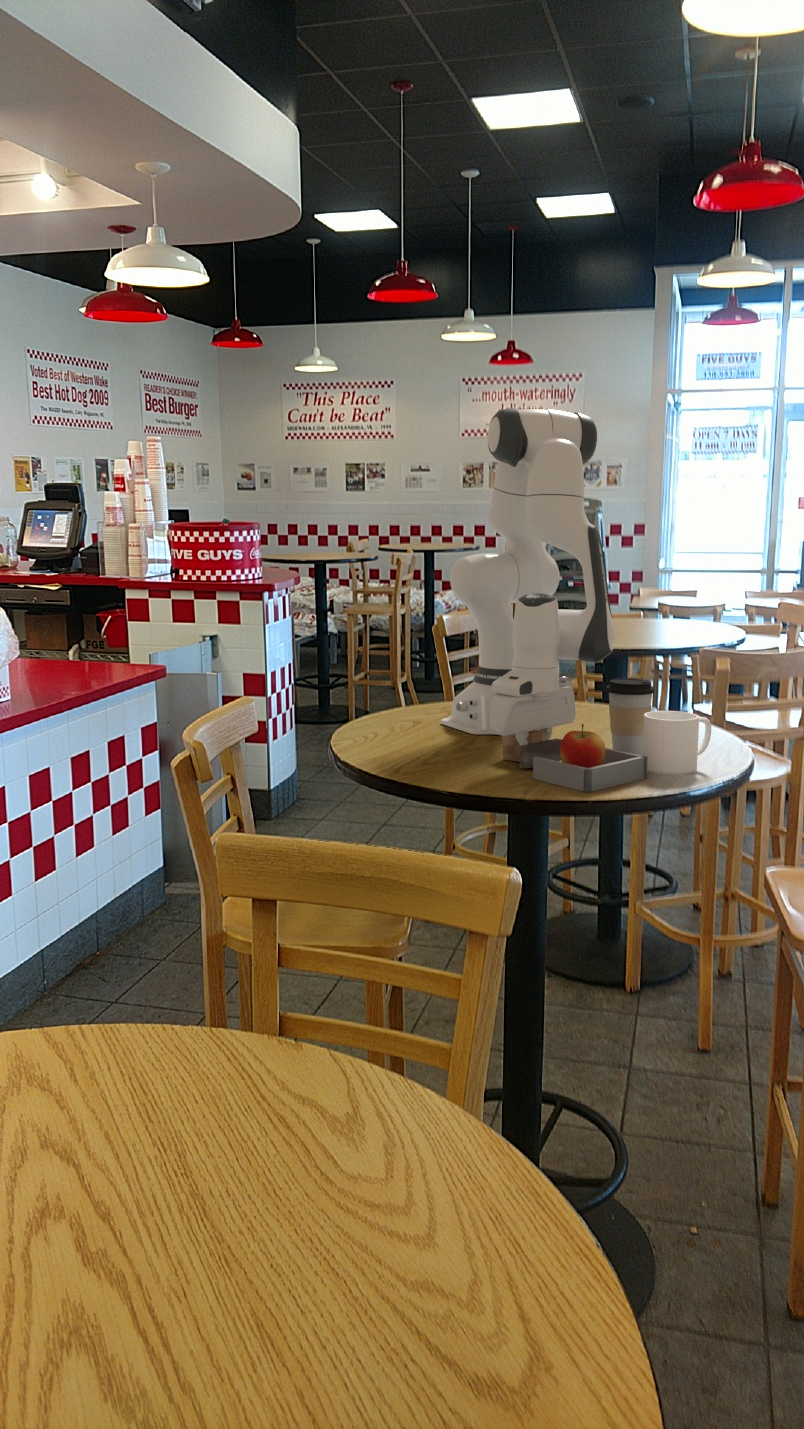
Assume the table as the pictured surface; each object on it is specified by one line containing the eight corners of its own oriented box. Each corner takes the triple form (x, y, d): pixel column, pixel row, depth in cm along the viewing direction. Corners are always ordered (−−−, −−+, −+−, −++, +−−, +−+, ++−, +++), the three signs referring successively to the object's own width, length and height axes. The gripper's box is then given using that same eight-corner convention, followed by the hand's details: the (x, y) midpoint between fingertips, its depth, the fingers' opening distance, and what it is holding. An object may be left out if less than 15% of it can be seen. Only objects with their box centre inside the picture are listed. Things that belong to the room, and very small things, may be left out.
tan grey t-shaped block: (489, 761, 206) (488, 731, 206) (525, 754, 213) (524, 724, 212) (527, 768, 199) (526, 736, 198) (563, 760, 205) (562, 729, 204)
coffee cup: (652, 762, 206) (655, 685, 203) (603, 760, 208) (605, 684, 205) (651, 751, 215) (654, 678, 212) (604, 749, 217) (606, 676, 214)
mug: (650, 776, 195) (652, 721, 193) (635, 763, 205) (637, 711, 203) (717, 775, 196) (720, 720, 194) (700, 762, 206) (702, 710, 204)
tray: (532, 778, 193) (533, 757, 193) (591, 765, 203) (592, 745, 202) (587, 792, 183) (588, 770, 183) (646, 778, 193) (647, 756, 193)
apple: (607, 773, 197) (609, 720, 195) (600, 783, 190) (602, 728, 188) (564, 770, 200) (565, 717, 198) (555, 780, 192) (557, 725, 190)
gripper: (559, 673, 210) (557, 741, 213) (485, 684, 197) (484, 757, 200) (584, 677, 206) (582, 747, 208) (509, 688, 193) (508, 763, 195)
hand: (533, 752), depth 204 cm, fingers closed on tan grey t-shaped block, 3 cm apart
